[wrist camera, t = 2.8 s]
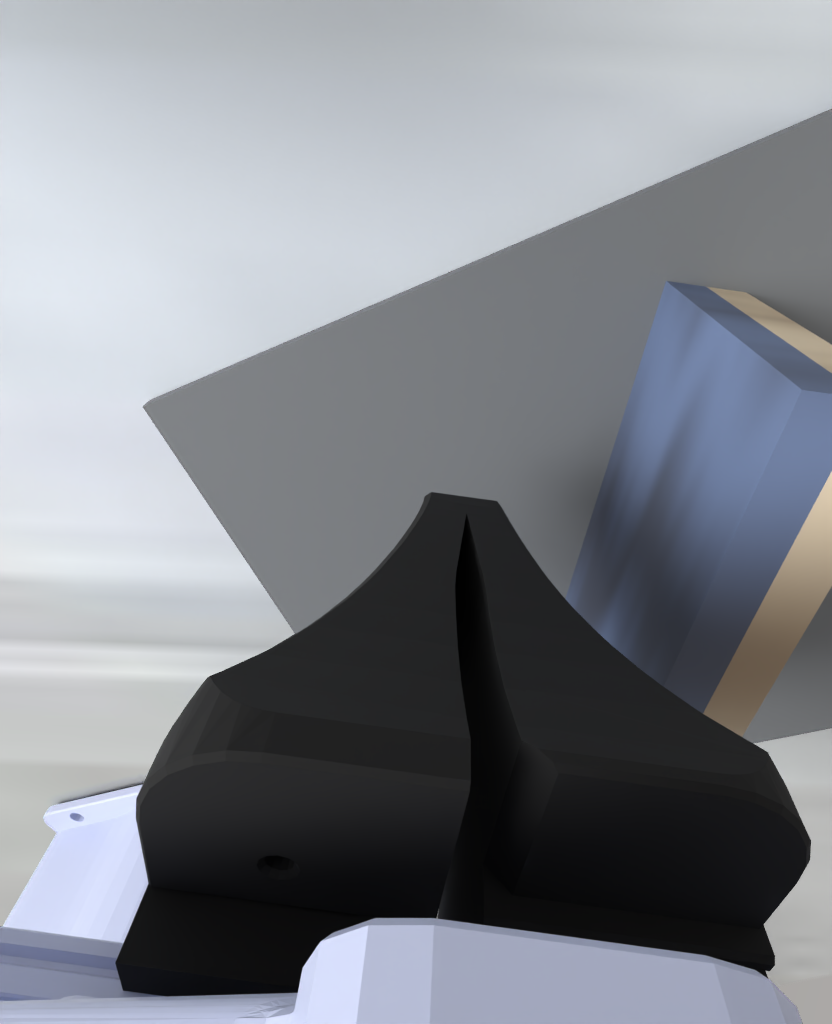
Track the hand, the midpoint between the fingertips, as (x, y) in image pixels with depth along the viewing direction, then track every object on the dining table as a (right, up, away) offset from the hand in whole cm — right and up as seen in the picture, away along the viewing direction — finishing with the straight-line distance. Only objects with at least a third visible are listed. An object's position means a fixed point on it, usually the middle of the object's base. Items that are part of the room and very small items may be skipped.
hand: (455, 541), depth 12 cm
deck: (+4, +1, +3) cm, 5 cm away
